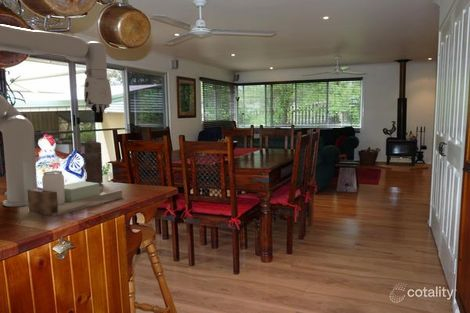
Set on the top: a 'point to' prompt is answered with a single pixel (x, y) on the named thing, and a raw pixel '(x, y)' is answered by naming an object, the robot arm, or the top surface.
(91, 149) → the brown textured cylinder
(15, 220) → the top surface
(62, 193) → the can
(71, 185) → the sliding block
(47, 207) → the channel
